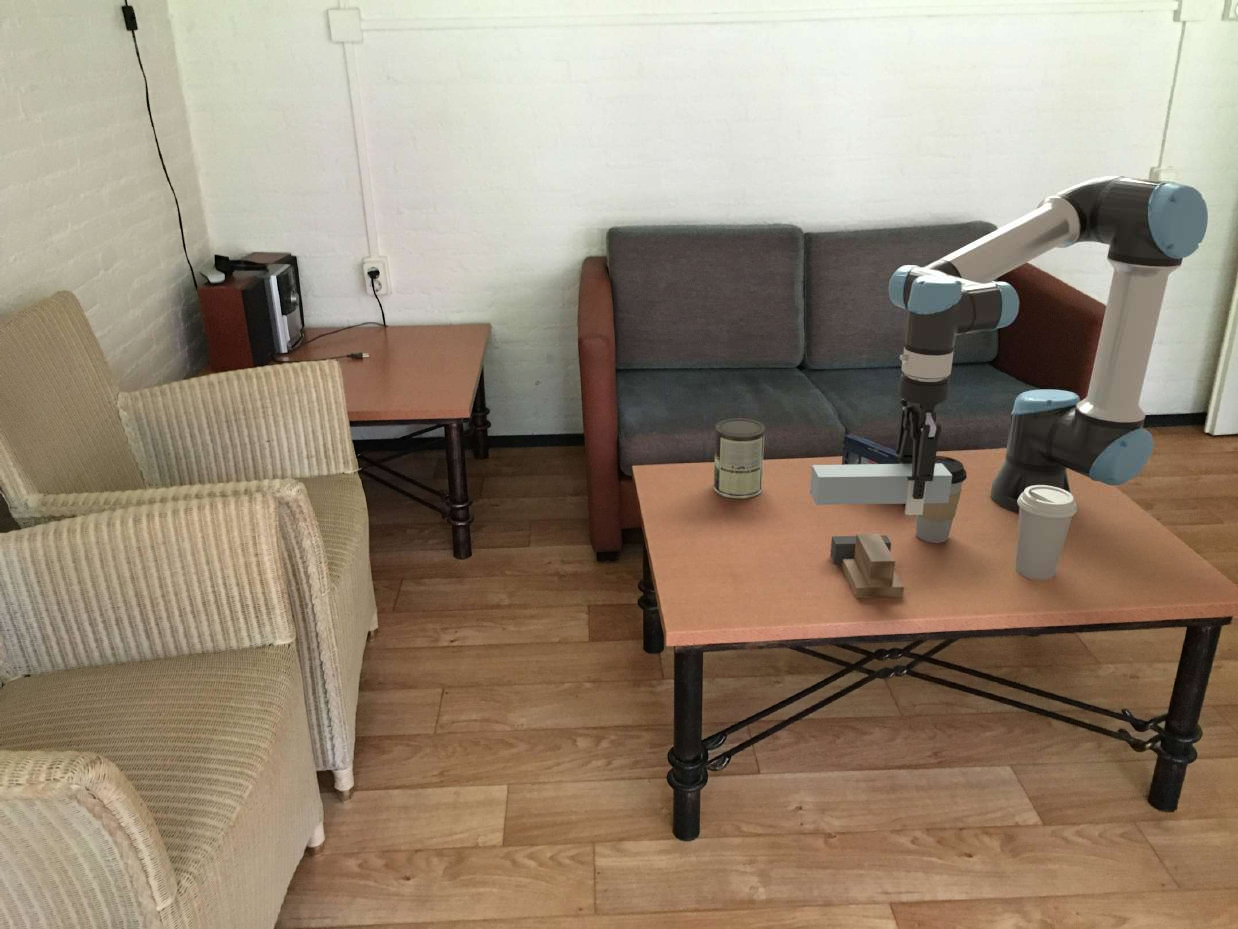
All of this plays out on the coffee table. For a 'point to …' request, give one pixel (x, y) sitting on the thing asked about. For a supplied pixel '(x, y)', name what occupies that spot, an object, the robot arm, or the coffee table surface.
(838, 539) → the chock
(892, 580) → the fulcrum
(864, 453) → the vhs cassette tape
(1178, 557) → the coffee table surface
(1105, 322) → the robot arm
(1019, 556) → the coffee cup
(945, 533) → the coffee cup
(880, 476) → the beam
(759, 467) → the coffee can
